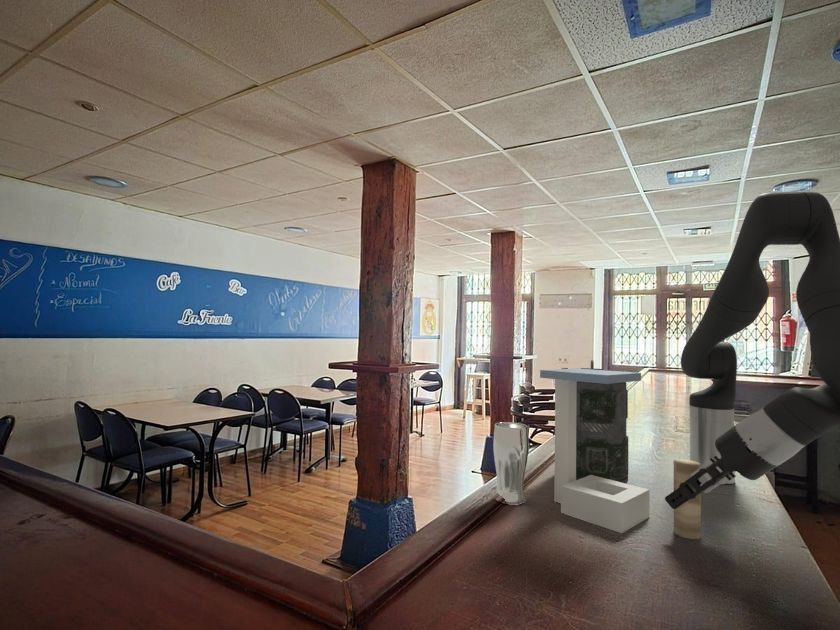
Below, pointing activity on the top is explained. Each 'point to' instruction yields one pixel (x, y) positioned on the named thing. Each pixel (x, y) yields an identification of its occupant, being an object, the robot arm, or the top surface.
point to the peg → (690, 511)
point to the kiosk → (590, 494)
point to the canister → (601, 430)
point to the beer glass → (511, 460)
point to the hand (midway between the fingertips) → (674, 500)
